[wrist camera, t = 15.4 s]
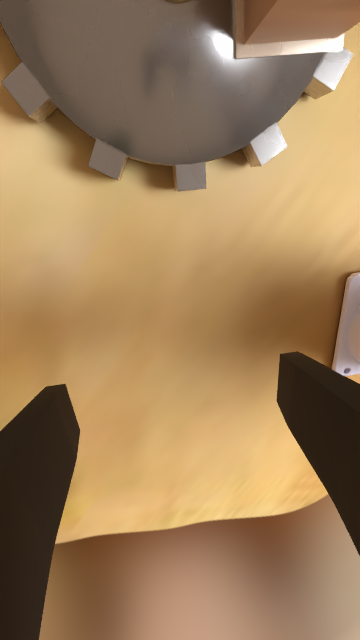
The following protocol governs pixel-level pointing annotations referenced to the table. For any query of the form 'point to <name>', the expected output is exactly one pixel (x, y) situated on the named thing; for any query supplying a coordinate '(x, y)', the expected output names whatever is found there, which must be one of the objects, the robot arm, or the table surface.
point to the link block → (297, 19)
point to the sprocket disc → (163, 79)
